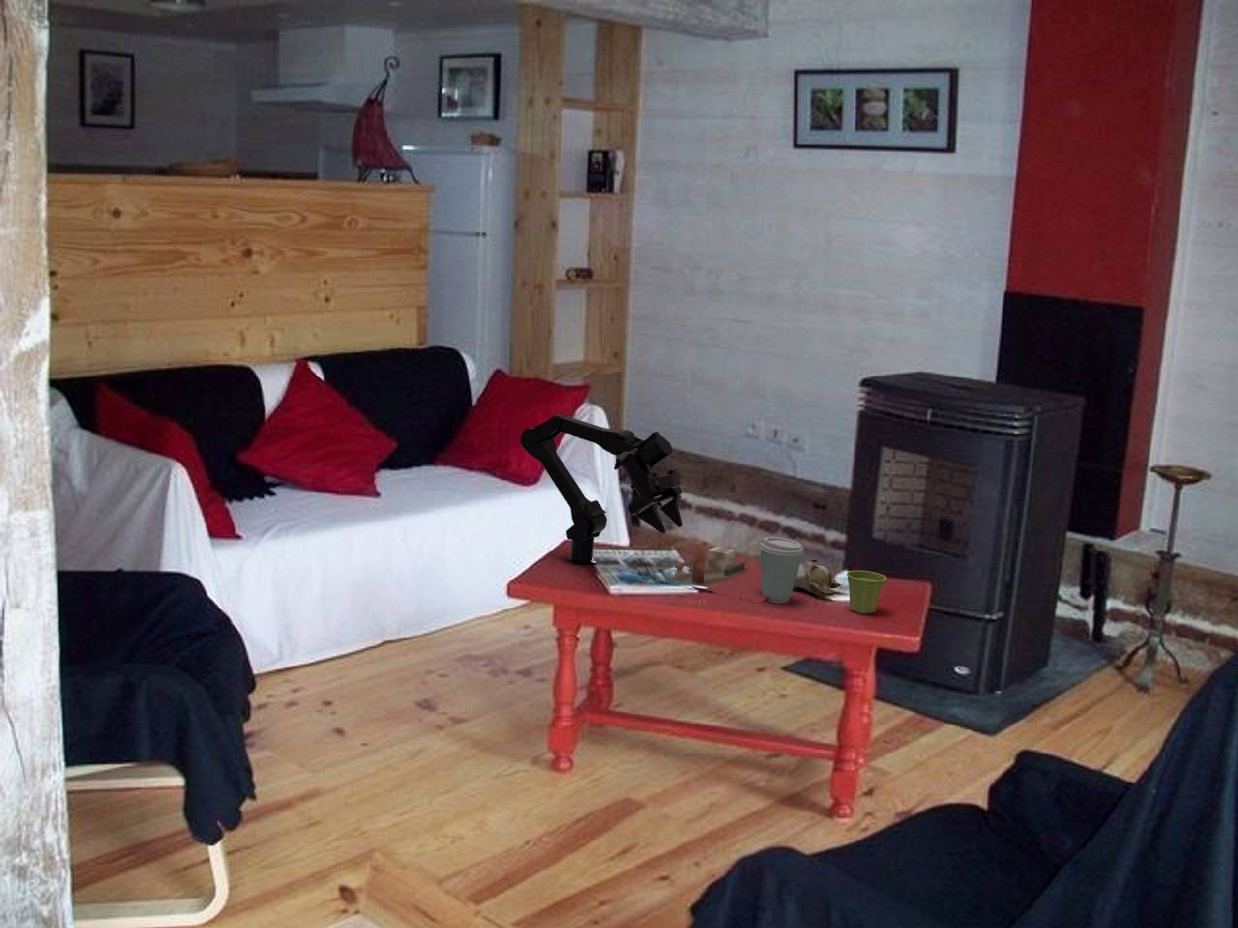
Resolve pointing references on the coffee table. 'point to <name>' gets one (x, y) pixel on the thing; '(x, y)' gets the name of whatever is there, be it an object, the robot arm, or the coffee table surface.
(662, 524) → the robot arm
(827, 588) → the ceramic sculpture
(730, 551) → the pale ash cube
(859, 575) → the plant pot
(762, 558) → the disposable coffee cup
